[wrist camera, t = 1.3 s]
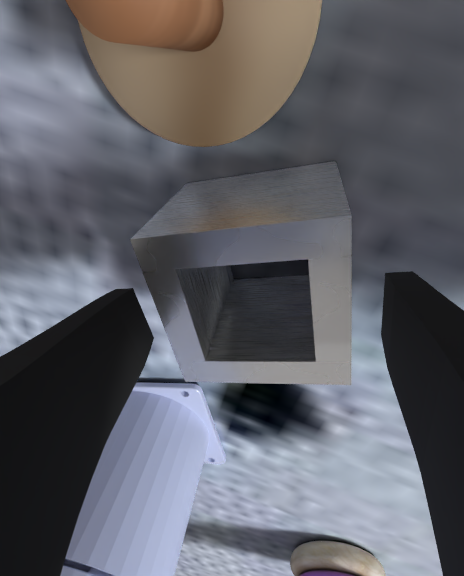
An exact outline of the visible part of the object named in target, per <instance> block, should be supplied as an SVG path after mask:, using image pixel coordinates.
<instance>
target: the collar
mask: <svg viewBox="0 0 464 576" xmlns="http://www.w3.org/2000/svg"><path fill="white" fill-rule="evenodd" d="M130 241H131V243H132V246H133V249H134V251H135V254H136V256H137V259H138V261H139V264H140V267H141V269H142V272H143V274H144V277H145V279H146V282H147V285H148V287H149V290H150V292H151V295H152V297H153V300H154V303H155V305H156V308H157V310H158V313H159V315H160V318H161V321H162V323H163V326H164V328H165V331H166V333H167V336H168V339H169V341H170V344H171V346H172V349H173V351H174V354H175V357H176V359H177V362H178V364H179V367H180V369H181V372H182V375H183V377H184V380H185V382H226V383H275V384H324V385H351V305H352V215H351V211H350V208H349V204H348V201H347V198H346V194H345V191H344V188H343V184H342V181H341V177H340V174H339V171H338V167H337V164H336V161H332V162H325V163H318V164H312V165H305V166H298V167H292V168H285V169H278V170H272V171H265V172H258V173H252V174H245V175H238V176H231V177H225V178H218V179H211V180H205V181H198V182H191V183H186V184H185V185H184V186H183V187H182V188H181V189H180V190H179V191H178V192H177V193H176V194H175V195H174V196H173V197H172V198H171V199H170V200H169V201H168V202H167V203H166V204H165V205H164V206H163V207H162V208H161V209H160V210H159V211H158V212H157V213H156V214H155V215H154V216H153V217H152V218H151V219H150V220H149V221H148V222H147V223H146V224H145V225H144V226H143V227H142V228H141V229H140V230H139V231H138V232H137V233H136V234H135V235H134V236H133V237H132V238H131V239H130ZM305 259H308V265H309V275H299V276H284V277H268V278H253V279H237V280H233V275H232V271H231V266H230V265H239V264H252V263H265V262H279V261H292V260H305Z"/></svg>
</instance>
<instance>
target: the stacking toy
mask: <svg viewBox="0 0 464 576" xmlns="http://www.w3.org/2000/svg"><path fill="white" fill-rule="evenodd" d="M290 565H291V570H292V572H293V574H294V576H386V575H385V571H384V569H383V566H382V565H381V563H380V562H379V561H378V560H377V559H376V558H375V557H374V556H373V555H371V554H370V553H368V552H366V551H365V550H362V549H360V548H358V547H355V546H352V545H349V544H345V543H341V542H335V541H312V542H307V543H304V544H302V545H300V546H298V547H297V548H296V549H295V550H294V551H293V553H292V555H291V559H290Z"/></svg>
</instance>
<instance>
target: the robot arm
mask: <svg viewBox="0 0 464 576" xmlns="http://www.w3.org/2000/svg"><path fill="white" fill-rule="evenodd" d="M381 336H382V342H383V347H384V353H385V358H386V363H387V368H388V371H389V375H390V378H391V381H392V384H393V387H394V390H395V393H396V396H397V399H398V402H399V405H400V408H401V411H402V414H403V417H404V420H405V424H406V427H407V430H408V433H409V436H410V439H411V442H412V445H413V448H414V451H415V454H416V458H417V461H418V465H419V468H420V472H421V476H422V480H423V485H424V489H425V494H426V498H427V502H428V507H429V511H430V516H431V520H432V525H433V530H434V534H435V539H436V544H437V549H438V553H439V558H440V563H441V568H442V572H443V576H464V311H463V310H462V309H461V308H459V307H458V306H457V305H455V304H454V303H453V302H451V301H450V300H449V299H447V298H446V297H445V296H443V295H442V294H441V293H440V292H438V291H437V290H436V289H434V288H433V287H432V286H431V285H429V284H428V283H427V282H426V281H424V280H423V279H422V278H420V277H419V276H418V275H416V274H415V273H414V272H412V271H411V272H394V273H385V286H384V301H383V315H382V330H381ZM153 339H154V337H153V335H152V332H151V330H150V328H149V325H148V323H147V320H146V318H145V316H144V313H143V311H142V309H141V306H140V304H139V302H138V299H137V297H136V295H135V292H134V290H133V288H129V289H115V290H113V291H111V292H109V293H107V294H105V295H103V296H102V297H100V298H98V299H96V300H95V301H93V302H91V303H90V304H88V305H86V306H85V307H83V308H81V309H80V310H78V311H77V312H75V313H73V314H72V315H70V316H69V317H67V318H65V319H64V320H62V321H61V322H59V323H57V324H56V325H54V326H53V327H51V328H49V329H48V330H46V331H44V332H43V333H41V334H39V335H37V336H36V337H34V338H32V339H31V340H29V341H27V342H26V343H24V344H22V345H20V346H19V347H17V348H15V349H14V350H12V351H10V352H8V353H6V354H5V355H3V356H1V357H0V576H174V575H175V571H176V567H177V563H178V559H179V556H180V552H181V548H182V544H183V540H184V536H185V532H186V529H187V525H188V521H189V517H190V513H191V509H192V506H193V502H194V498H195V494H196V490H197V486H198V482H199V479H200V475H201V471H202V467H203V463H211V464H224V463H225V460H226V455H225V452H224V449H223V447H222V444H221V441H220V438H219V435H218V433H217V430H216V427H215V424H214V421H213V418H212V416H211V413H210V410H209V407H208V404H207V402H206V399H205V396H204V393H203V390H202V388H201V387H200V386H199V385H196V384H186V383H141V382H137V380H138V378H139V376H140V374H141V372H142V370H143V368H144V366H145V363H146V360H147V358H148V355H149V352H150V349H151V345H152V342H153Z"/></svg>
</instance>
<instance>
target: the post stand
mask: <svg viewBox="0 0 464 576" xmlns="http://www.w3.org/2000/svg"><path fill="white" fill-rule="evenodd" d="M66 2H67V4H68V6H69V8H70V9H71V11H72V12H73V14H74V15H75V17H76V18H77V19H78V22H79V26H80V29H81V33H82V36H83V39H84V43H85V45H86V48H87V50H88V53H89V55H90V58H91V60H92V62H93V64H94V66H95V68H96V70H97V72H98V74H99V76H100V78H101V80H102V81H103V83H104V84H105V86H106V87H107V89H108V91H109V92H110V93H111V95H112V96H113V97H114V98H115V100H116V101H117V102H118V104H119V105H120V106H121V107H122V108H123V109H124V110H125V111H126V112H127V113H128V114H129V115H130V116H131V117H132V118H133V119H134V120H136V121H137V122H138V123H139V124H140V125H142V126H143V127H145V128H146V129H148V130H149V131H151V132H152V133H154V134H156V135H158V136H160V137H162V138H164V139H166V140H169V141H172V142H175V143H178V144H183V145H188V146H197V147H209V146H219V145H222V144H226V143H230V142H233V141H236V140H238V139H241V138H243V137H245V136H247V135H248V134H250V133H252V132H254V131H255V130H257V129H258V128H259V127H261V126H262V125H263V124H265V123H266V122H267V121H268V120H269V119H270V118H271V117H272V116H273V115H274V114H275V113H276V112H277V111H278V110H279V109H280V108H281V107H282V106H283V104H284V103H285V102H286V100H287V99H288V98H289V96H290V95H291V94H292V92H293V90H294V89H295V87H296V85H297V84H298V82H299V80H300V78H301V76H302V74H303V72H304V70H305V68H306V65H307V63H308V61H309V58H310V55H311V52H312V49H313V46H314V43H315V39H316V35H317V30H318V26H319V21H320V14H321V6H322V0H66Z"/></svg>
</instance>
